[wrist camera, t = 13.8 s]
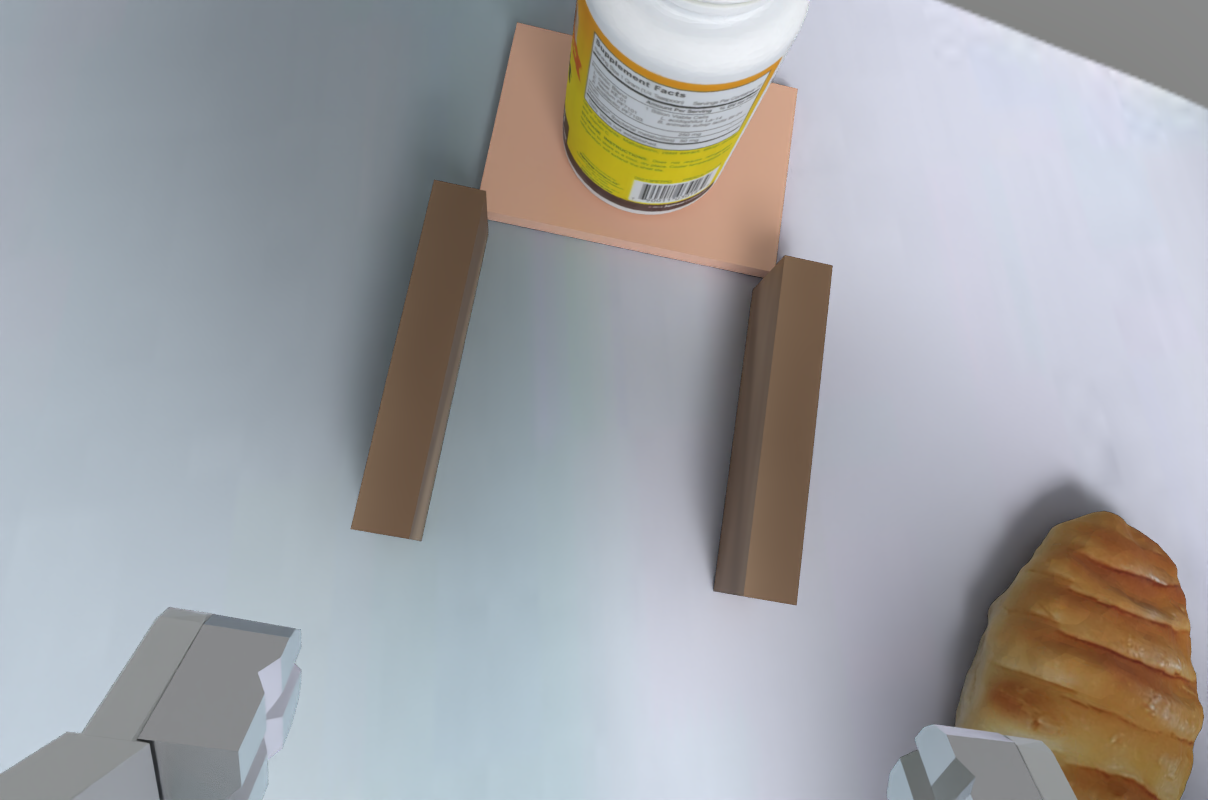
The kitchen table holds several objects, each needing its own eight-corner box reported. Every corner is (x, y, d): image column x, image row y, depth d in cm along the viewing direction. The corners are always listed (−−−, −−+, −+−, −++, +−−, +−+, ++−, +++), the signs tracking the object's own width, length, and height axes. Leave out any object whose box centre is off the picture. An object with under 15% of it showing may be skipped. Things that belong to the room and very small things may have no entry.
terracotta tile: (476, 217, 25) (475, 208, 24) (516, 34, 26) (516, 22, 26) (768, 279, 26) (774, 272, 25) (791, 98, 27) (797, 88, 27)
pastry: (999, 484, 25) (1085, 472, 22) (1175, 559, 26) (1289, 560, 22) (925, 766, 23) (1007, 807, 20) (1119, 844, 24) (1235, 898, 20)
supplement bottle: (627, 42, 26) (702, -278, 16) (753, 141, 26) (908, -120, 16) (524, 150, 25) (536, -124, 15) (656, 255, 25) (759, 49, 15)
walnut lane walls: (370, 532, 22) (350, 529, 19) (442, 224, 24) (434, 179, 22) (760, 598, 23) (796, 605, 20) (794, 298, 26) (832, 265, 23)
